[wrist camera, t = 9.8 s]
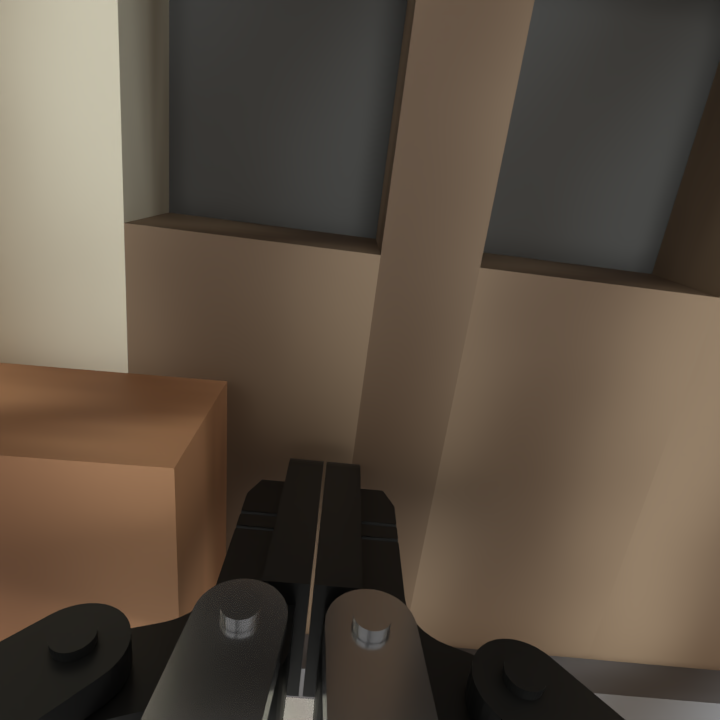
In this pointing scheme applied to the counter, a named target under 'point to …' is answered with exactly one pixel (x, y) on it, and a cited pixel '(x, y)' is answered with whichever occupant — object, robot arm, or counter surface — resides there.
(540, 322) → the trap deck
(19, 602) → the terracotta block
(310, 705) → the counter surface
